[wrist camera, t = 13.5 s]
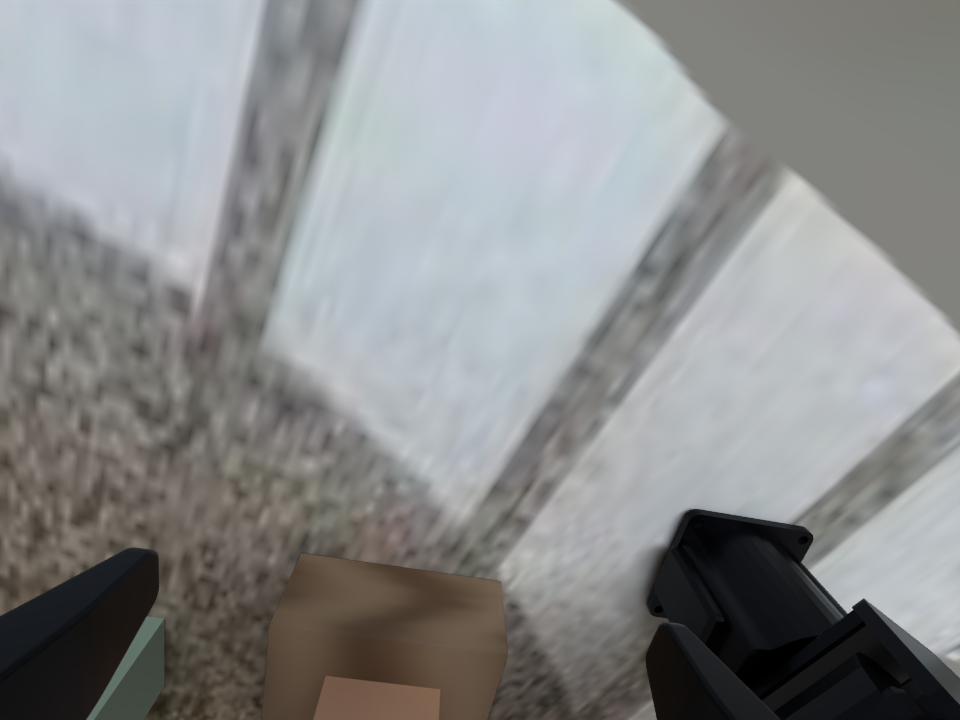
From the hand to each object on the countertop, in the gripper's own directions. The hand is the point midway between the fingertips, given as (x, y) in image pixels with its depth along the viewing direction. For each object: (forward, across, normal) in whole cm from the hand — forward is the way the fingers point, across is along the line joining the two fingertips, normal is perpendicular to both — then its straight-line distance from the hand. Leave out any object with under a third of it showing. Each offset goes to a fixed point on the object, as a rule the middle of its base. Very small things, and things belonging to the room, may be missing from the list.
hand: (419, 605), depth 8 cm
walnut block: (+12, 0, +16) cm, 20 cm away
